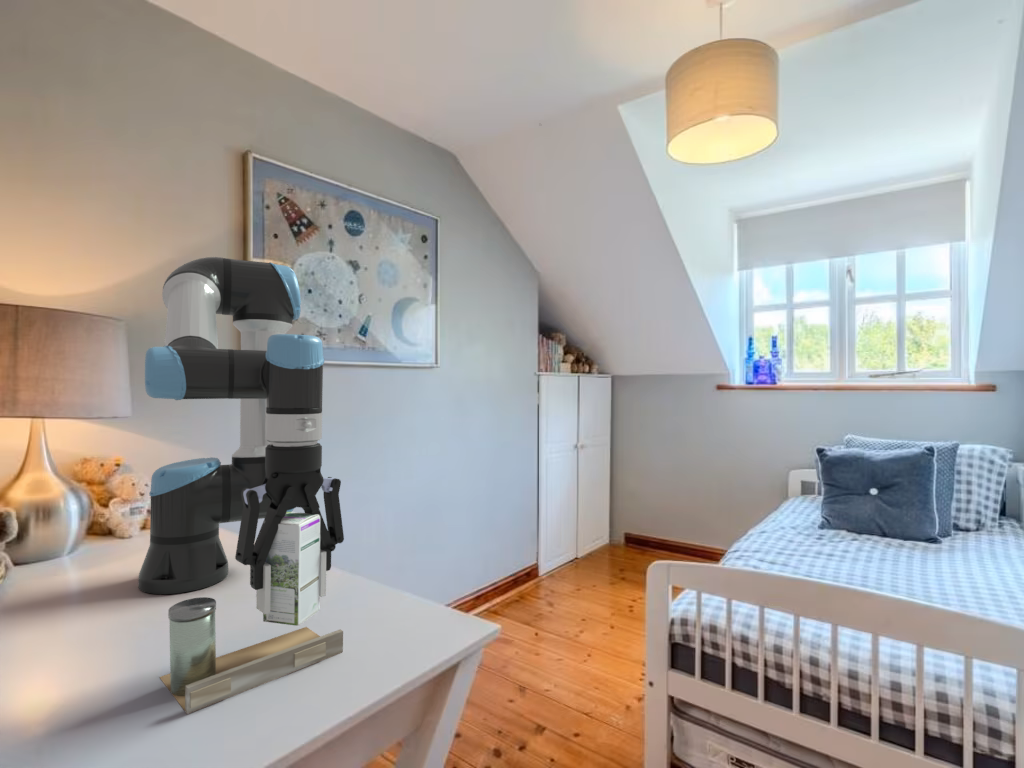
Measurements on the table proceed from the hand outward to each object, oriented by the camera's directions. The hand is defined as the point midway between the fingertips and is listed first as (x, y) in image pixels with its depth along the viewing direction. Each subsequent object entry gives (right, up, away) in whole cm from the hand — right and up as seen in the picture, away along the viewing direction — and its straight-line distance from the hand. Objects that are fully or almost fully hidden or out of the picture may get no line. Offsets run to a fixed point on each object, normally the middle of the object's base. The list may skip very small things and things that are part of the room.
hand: (292, 601), depth 78 cm
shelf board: (-4, -8, -3) cm, 10 cm away
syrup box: (0, -2, 0) cm, 2 cm away
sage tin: (-9, -7, -9) cm, 14 cm away
